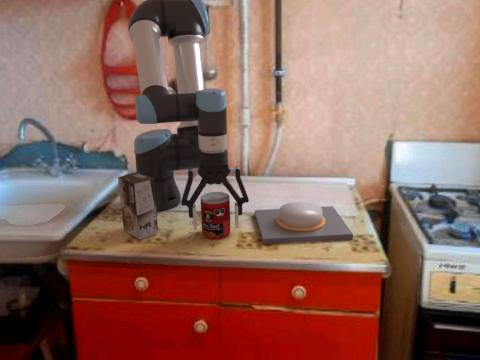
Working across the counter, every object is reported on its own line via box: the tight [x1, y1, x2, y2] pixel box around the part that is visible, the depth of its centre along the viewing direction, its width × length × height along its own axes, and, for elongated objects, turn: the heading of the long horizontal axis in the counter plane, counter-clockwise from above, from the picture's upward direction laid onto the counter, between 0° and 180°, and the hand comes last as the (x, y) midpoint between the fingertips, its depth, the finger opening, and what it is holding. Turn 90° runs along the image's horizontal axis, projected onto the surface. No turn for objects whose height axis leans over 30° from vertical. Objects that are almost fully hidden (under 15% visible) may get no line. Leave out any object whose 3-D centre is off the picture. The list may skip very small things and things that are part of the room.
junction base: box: [253, 201, 354, 245], centre depth 136 cm, size 20×24×5 cm
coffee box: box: [117, 172, 159, 240], centre depth 133 cm, size 9×6×16 cm
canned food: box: [200, 191, 231, 240], centre depth 131 cm, size 8×8×11 cm
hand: (216, 227), depth 132 cm, fingers open, 11 cm apart
